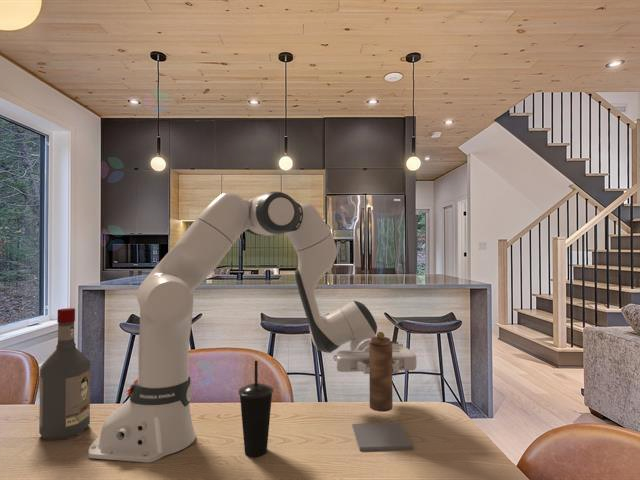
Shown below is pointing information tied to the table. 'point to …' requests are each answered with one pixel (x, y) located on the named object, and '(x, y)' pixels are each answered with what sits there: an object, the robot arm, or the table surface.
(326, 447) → the table surface
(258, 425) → the drinking cup
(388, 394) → the pepper mill
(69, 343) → the liquor
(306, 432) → the table surface
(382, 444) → the trivet
